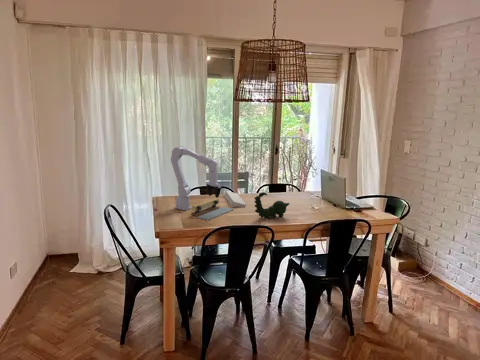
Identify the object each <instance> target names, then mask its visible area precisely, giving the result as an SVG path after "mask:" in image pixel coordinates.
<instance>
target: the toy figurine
mask: <svg viewBox="0 0 480 360" xmlns="http://www.w3.org/2000/svg"><path fill="white" fill-rule="evenodd" d="M264 196H268V194H267V193H266V192H263V191H261V192H260V193H259V194H258V195H256V196H255V197H254V204H255V205H254V208H256V209H254V212H255V213H256V214H258V217H260V218H262V219H263V218H264V217H265V218H266V219H268V220H269V219H270V217H272V218H274V219H275V218H276V217H277V216H278V217H281V218H283V217H284V214H286V211H287V207H288V206H289V205H290V202H284V201H282V200H276V201H275V202H273V204H272V205H270V206H268V207H267V208H264V207H263V205H262V200H261V198H262V197H264Z"/></svg>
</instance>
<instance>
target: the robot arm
mask: <svg viewBox="0 0 480 360" xmlns="http://www.w3.org/2000/svg"><path fill="white" fill-rule="evenodd" d="M182 156H189V157H192V158H194V159H196V160H197V161H198V162H199V164H202V165H204V166H205V167H208V181H207V182H205V186H204V187H205V189H206V191H207V193H208V196H209V197H211V196H213V191H214V196H215V198H217V199H218V198H219V196H220V194H221V193H220V192H221V190H222V184H220V183H219V182H218V165H219V162H218V160H216V159H214V158H212V157H209V156H207V155H206V154H198V153H197V152H195V151H193V150H191V149H189V148H188V147H185V146H183V145H179V146H177V147H174V148H173V149H172V151H171V156H170V162H171V166H172V168H173V172H174V174H175V178H176V182H177V185H178V186H177V189H178V193H177V196H176V198H175V207H174V208H175V209H179V210H182V211H187V210H190V209H191V210H192V206H190V201H191V199H190V194H191V192H192V191H191V190H192V189H191V187H190V186H189V184H188V182H186V179H185V175H184V173H183V170H182V166H181V163H180V159H181V158H182Z"/></svg>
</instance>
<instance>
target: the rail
mask: <svg viewBox="0 0 480 360" xmlns="http://www.w3.org/2000/svg"><path fill="white" fill-rule="evenodd" d="M216 200H218V204H219V202H220V200H219V198H218V197H217V198H216V197H215V198H211V199H209V200H206V201H202V202H199V203H197V204H194V205H191V207H192V208H191V211H192V212H195V211H197V210H198V207H199V206H201V209H203V208H206V207H209V206H212V205H214V204H215V201H216Z"/></svg>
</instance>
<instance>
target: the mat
mask: <svg viewBox="0 0 480 360" xmlns="http://www.w3.org/2000/svg"><path fill="white" fill-rule="evenodd" d="M234 210H235V209H234V208H232V207H225V206H221V207H219V209H216V210H213V211H211V212H208V213H205V214H203V215H200V216H196V219H200V220H205V221H211V220H212V219H215V218H218V217H220V216H222V215H225V214H228V213H231V212H232V211H234Z"/></svg>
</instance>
